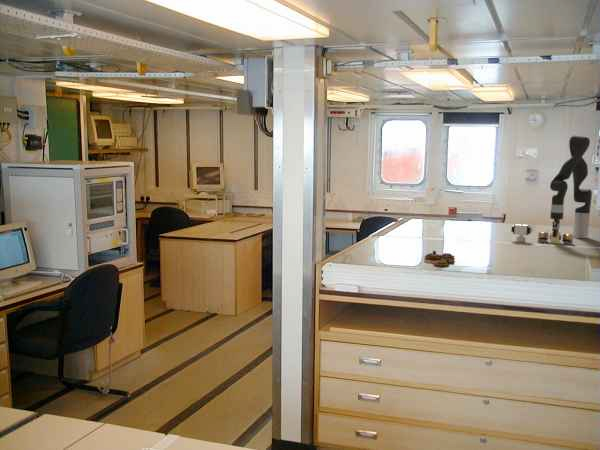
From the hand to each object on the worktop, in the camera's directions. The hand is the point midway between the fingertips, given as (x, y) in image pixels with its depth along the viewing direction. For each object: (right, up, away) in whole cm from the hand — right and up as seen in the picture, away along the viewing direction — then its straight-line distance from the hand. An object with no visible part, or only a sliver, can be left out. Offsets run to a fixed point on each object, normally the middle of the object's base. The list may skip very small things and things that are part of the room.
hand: (555, 236), depth 393 cm
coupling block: (0, -4, 0) cm, 4 cm away
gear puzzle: (-90, -13, -69) cm, 114 cm away
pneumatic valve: (-20, -4, +5) cm, 21 cm away
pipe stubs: (0, -4, 0) cm, 4 cm away
